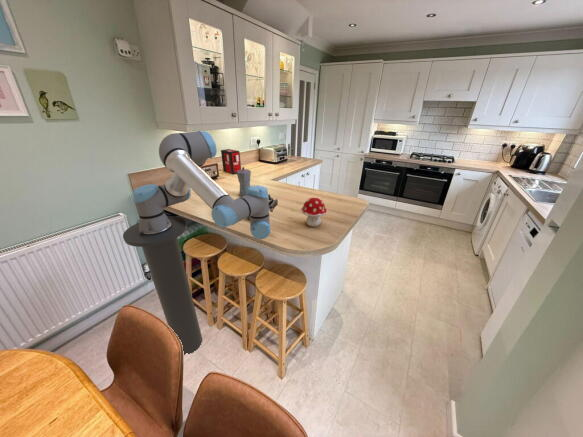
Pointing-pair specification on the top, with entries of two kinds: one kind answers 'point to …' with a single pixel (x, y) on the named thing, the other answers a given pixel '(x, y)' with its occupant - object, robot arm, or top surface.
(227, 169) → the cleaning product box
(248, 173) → the moka pot
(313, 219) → the decorative mushroom
